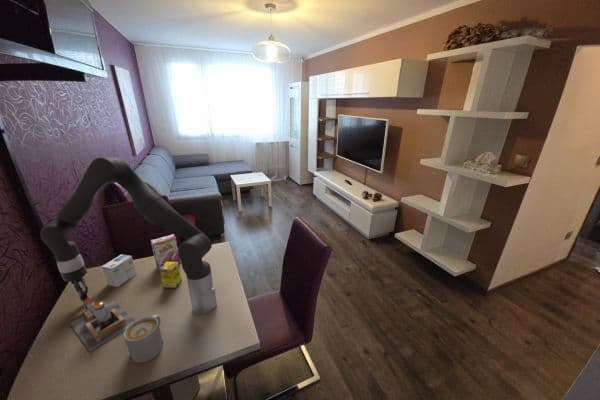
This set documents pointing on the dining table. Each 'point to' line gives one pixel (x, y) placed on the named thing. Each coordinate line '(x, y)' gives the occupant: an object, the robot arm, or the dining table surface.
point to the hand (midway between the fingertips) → (84, 300)
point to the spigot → (102, 314)
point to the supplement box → (170, 275)
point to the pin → (89, 304)
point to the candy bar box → (165, 250)
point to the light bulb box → (119, 270)
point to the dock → (91, 331)
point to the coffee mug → (144, 338)
